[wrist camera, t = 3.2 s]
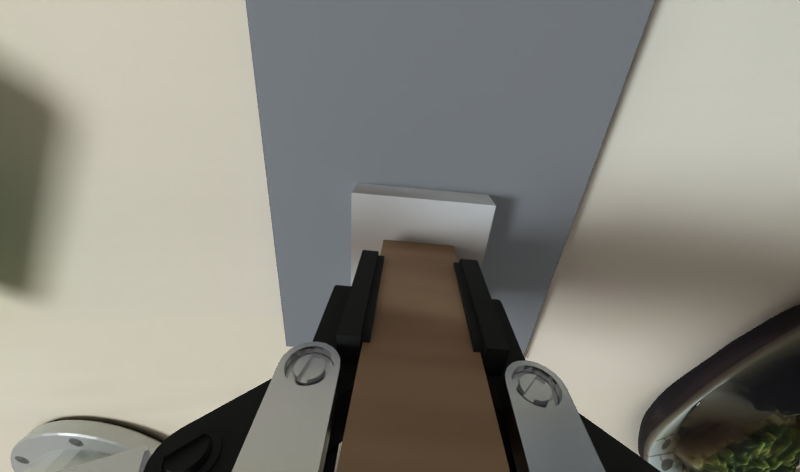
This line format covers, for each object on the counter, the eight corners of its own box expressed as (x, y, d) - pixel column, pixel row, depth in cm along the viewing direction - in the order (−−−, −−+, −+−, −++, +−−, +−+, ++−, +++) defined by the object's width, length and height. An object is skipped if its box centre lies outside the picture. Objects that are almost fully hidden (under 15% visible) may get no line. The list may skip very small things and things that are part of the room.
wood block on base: (461, 316, 14) (528, 639, 6) (355, 307, 14) (272, 615, 6) (488, 194, 11) (679, 467, 3) (357, 182, 11) (211, 425, 3)
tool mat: (515, 357, 16) (519, 367, 15) (290, 337, 16) (286, 345, 15) (652, -30, 9) (668, -37, 8) (247, -66, 9) (236, -76, 8)
